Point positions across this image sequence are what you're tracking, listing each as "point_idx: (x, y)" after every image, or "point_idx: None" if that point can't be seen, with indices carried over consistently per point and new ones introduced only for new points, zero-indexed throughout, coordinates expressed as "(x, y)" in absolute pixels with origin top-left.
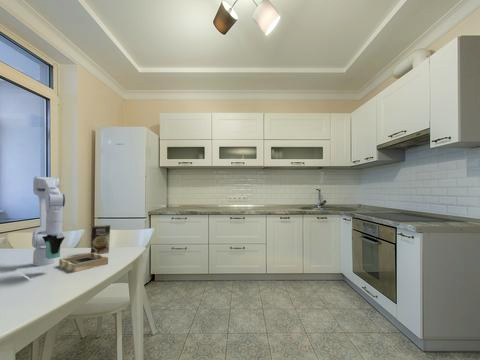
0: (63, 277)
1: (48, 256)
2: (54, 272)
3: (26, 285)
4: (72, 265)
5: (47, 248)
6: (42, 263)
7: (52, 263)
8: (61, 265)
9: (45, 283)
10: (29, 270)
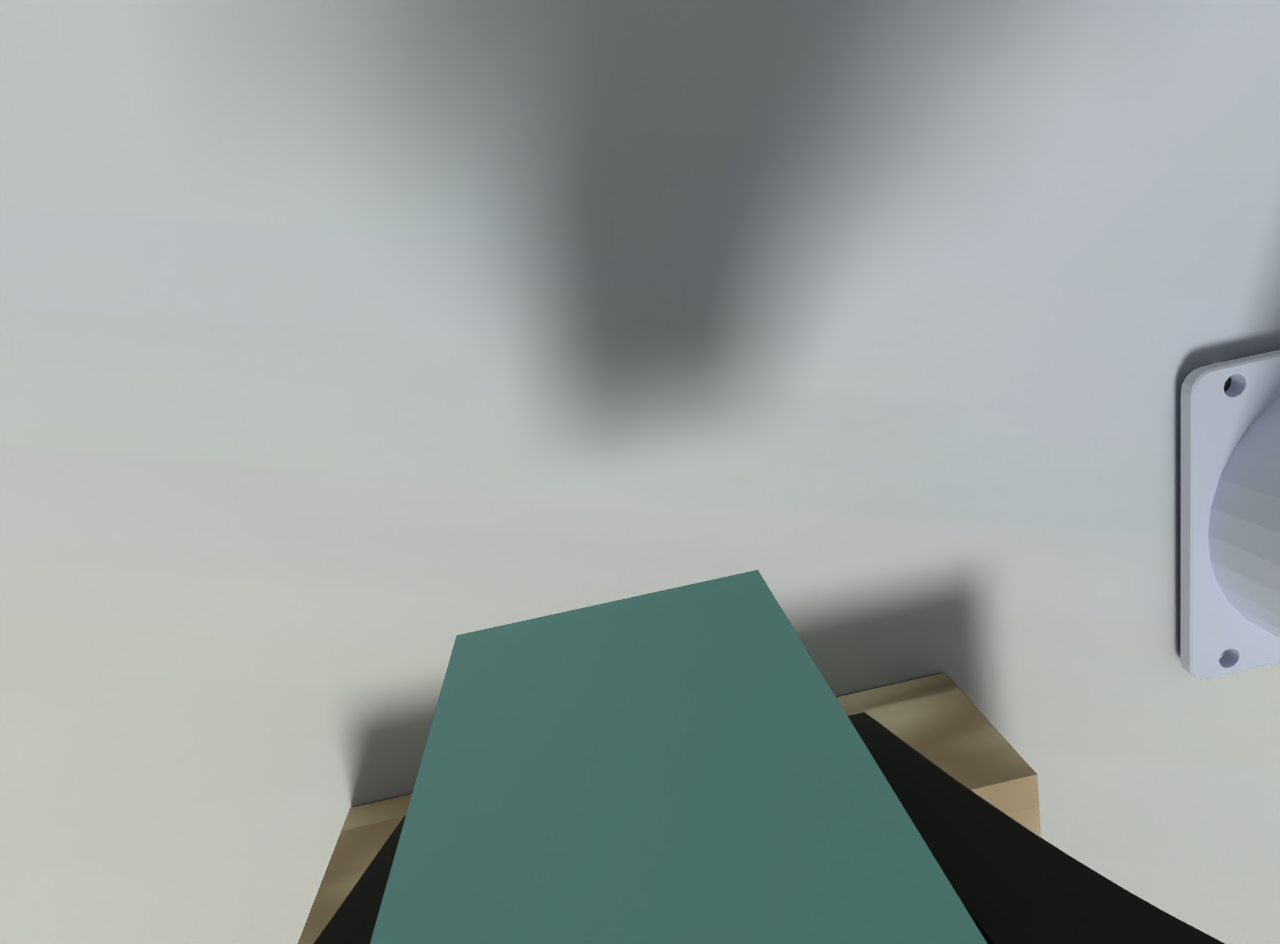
0: (274, 676)
1: (470, 671)
2: None
3: (168, 127)
4: None
5: (617, 833)
6: (1276, 474)
7: (1248, 617)
8: None
9: (85, 412)
10: (1202, 251)
